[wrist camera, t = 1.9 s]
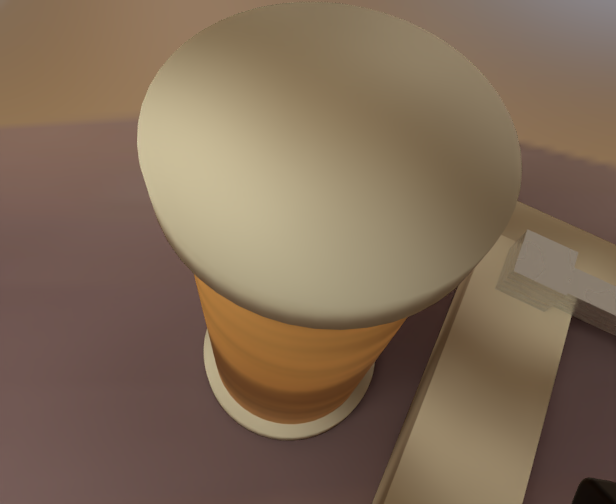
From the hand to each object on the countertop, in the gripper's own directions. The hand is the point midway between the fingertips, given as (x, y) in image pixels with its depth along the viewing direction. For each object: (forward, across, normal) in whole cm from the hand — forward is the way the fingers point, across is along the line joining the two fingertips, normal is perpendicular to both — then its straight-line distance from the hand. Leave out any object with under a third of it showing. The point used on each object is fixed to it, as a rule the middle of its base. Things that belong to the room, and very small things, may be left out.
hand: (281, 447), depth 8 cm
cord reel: (+12, 0, +5) cm, 12 cm away
